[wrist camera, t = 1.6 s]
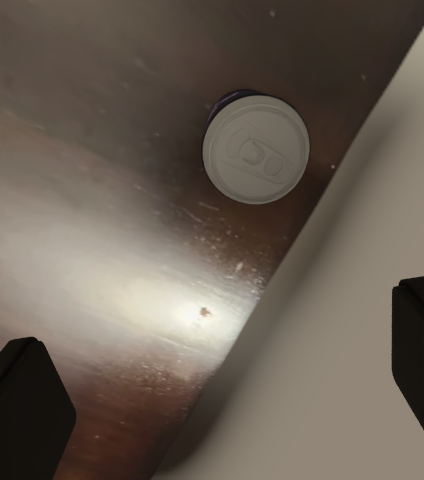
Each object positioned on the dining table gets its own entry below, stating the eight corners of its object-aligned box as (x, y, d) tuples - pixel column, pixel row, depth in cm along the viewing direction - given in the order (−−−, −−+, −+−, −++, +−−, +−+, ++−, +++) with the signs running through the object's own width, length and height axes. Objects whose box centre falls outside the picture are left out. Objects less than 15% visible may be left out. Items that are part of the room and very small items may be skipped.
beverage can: (230, 73, 27) (240, 69, 16) (292, 114, 28) (340, 136, 17) (193, 140, 29) (179, 176, 18) (252, 176, 30) (273, 230, 19)
